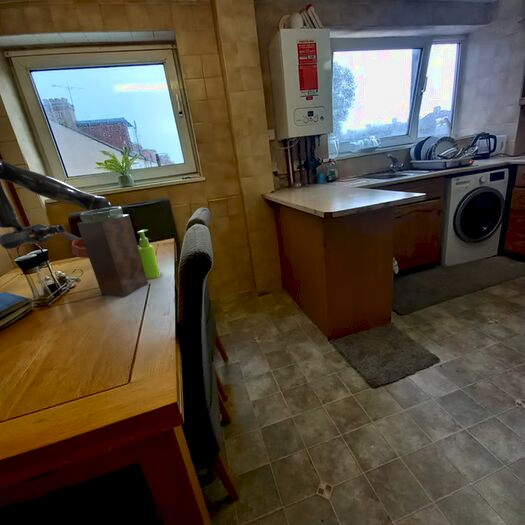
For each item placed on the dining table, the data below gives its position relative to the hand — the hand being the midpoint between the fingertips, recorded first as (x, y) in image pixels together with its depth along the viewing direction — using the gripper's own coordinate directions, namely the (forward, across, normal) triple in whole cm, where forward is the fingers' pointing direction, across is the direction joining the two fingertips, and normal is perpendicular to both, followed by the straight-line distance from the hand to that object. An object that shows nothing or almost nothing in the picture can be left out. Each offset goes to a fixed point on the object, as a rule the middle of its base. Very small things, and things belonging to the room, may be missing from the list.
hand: (60, 228), depth 110 cm
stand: (+21, 0, +28) cm, 35 cm away
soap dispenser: (+24, +14, +28) cm, 40 cm away
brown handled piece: (+4, 0, +8) cm, 9 cm away
